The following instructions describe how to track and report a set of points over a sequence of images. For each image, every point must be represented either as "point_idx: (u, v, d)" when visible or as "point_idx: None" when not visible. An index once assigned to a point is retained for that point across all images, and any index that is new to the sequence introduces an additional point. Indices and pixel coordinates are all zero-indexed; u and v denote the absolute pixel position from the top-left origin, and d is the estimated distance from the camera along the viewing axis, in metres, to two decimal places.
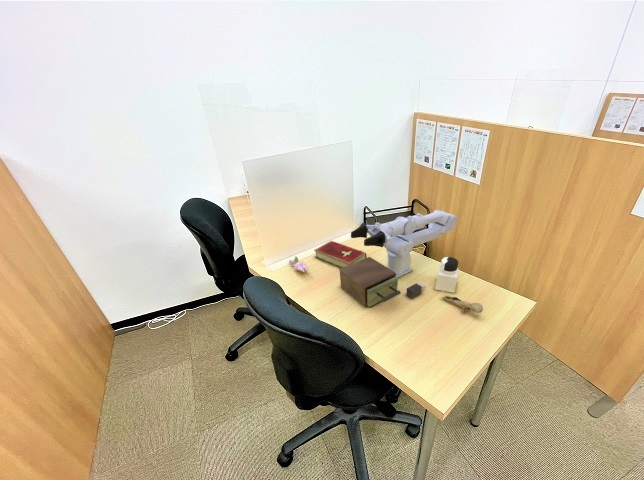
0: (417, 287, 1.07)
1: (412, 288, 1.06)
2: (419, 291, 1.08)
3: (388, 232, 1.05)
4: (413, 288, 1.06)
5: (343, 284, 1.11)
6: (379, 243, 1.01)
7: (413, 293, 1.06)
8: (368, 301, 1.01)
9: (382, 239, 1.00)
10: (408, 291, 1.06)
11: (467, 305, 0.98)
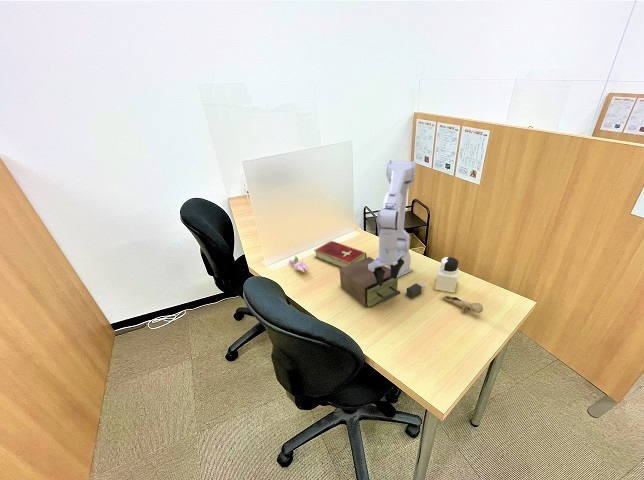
0: (417, 287, 1.07)
1: (412, 288, 1.06)
2: (419, 291, 1.08)
3: None
4: (413, 288, 1.06)
5: (343, 284, 1.11)
6: None
7: (413, 293, 1.06)
8: (368, 301, 1.01)
9: None
10: (408, 291, 1.06)
11: (467, 305, 0.98)
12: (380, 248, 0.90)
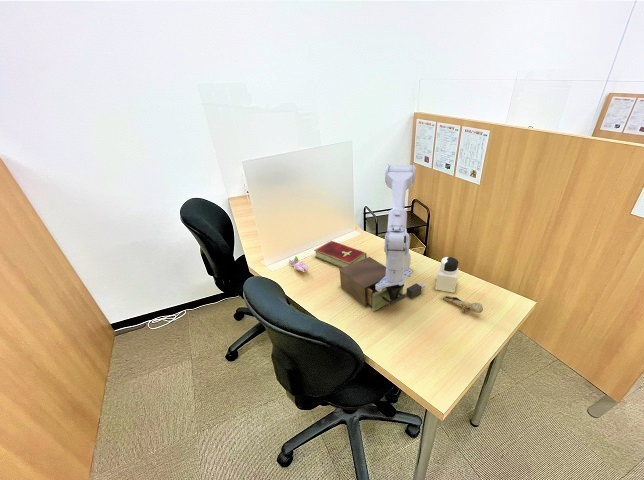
0: (417, 287, 1.07)
1: (412, 288, 1.06)
2: (419, 291, 1.08)
3: None
4: (413, 288, 1.06)
5: (343, 284, 1.11)
6: None
7: (413, 293, 1.06)
8: (373, 305, 0.99)
9: None
10: (408, 291, 1.06)
11: (467, 305, 0.98)
12: (387, 269, 0.91)
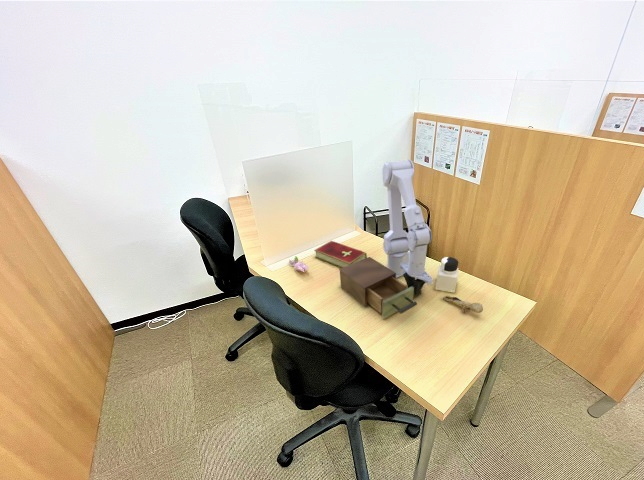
0: None
1: None
2: None
3: None
4: None
5: (343, 284, 1.11)
6: None
7: (413, 293, 1.06)
8: (383, 313, 0.96)
9: None
10: None
11: (467, 305, 0.98)
12: (422, 264, 0.98)
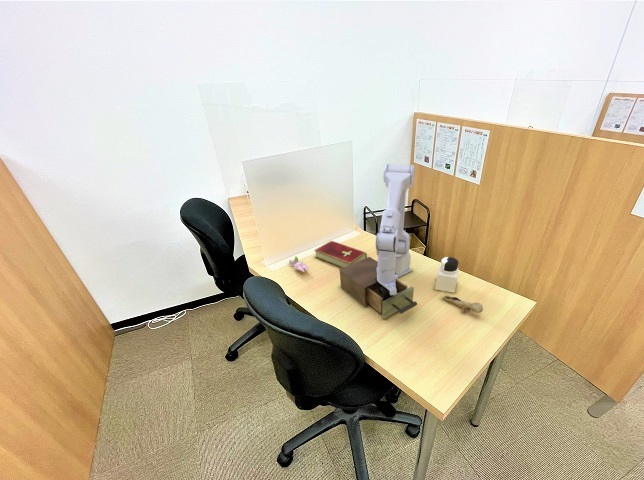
0: None
1: (382, 294, 1.00)
2: None
3: None
4: None
5: (343, 284, 1.11)
6: None
7: None
8: (383, 313, 0.96)
9: None
10: None
11: (467, 305, 0.98)
12: (388, 271, 0.92)
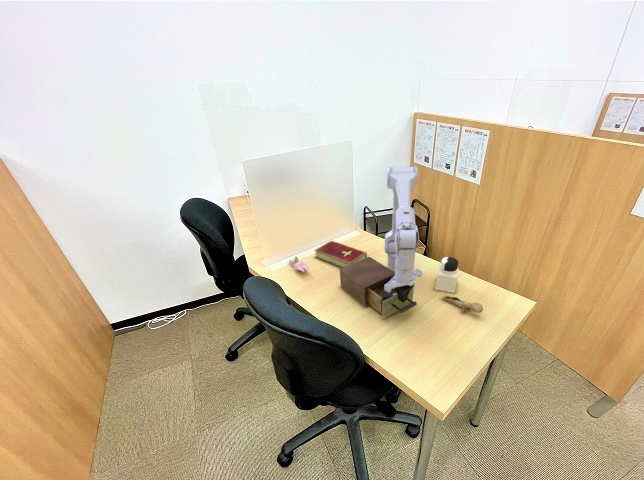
0: (388, 295, 1.00)
1: (382, 294, 1.00)
2: None
3: None
4: (384, 295, 1.00)
5: (343, 284, 1.11)
6: None
7: None
8: (383, 313, 0.96)
9: None
10: None
11: (467, 305, 0.98)
12: (397, 268, 0.87)
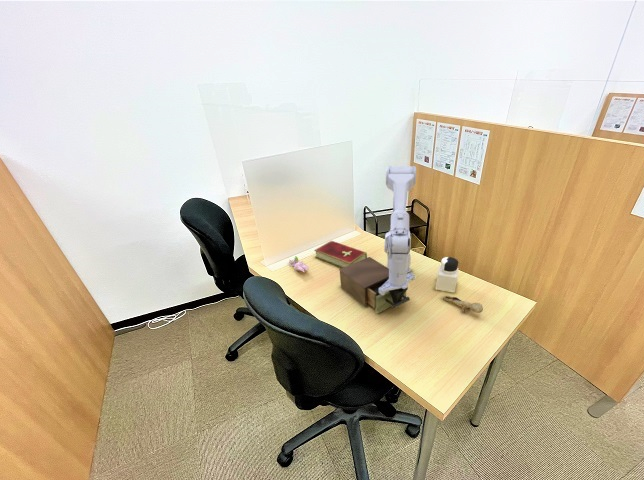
0: None
1: (376, 290, 1.03)
2: None
3: None
4: (378, 290, 1.02)
5: (343, 284, 1.11)
6: None
7: None
8: (376, 308, 0.98)
9: None
10: None
11: (467, 305, 0.98)
12: (390, 272, 0.91)
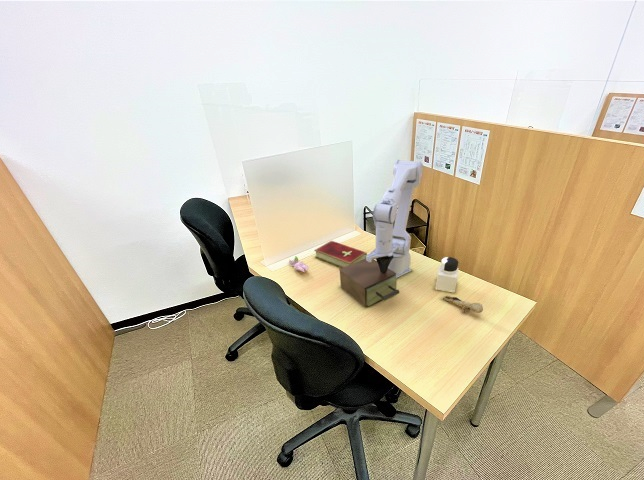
0: None
1: None
2: None
3: None
4: None
5: (343, 284, 1.11)
6: None
7: None
8: (367, 300, 1.02)
9: None
10: None
11: (467, 305, 0.98)
12: (377, 240, 0.97)
